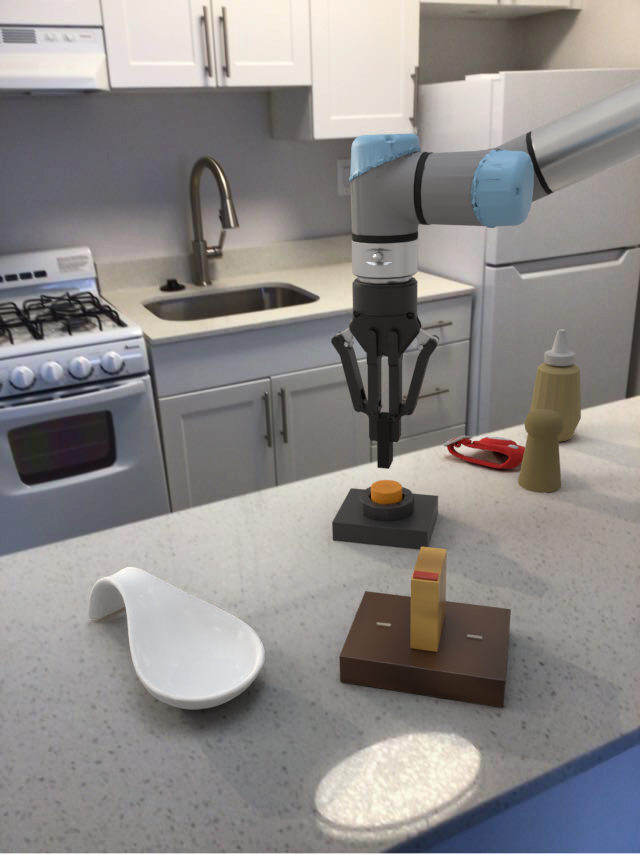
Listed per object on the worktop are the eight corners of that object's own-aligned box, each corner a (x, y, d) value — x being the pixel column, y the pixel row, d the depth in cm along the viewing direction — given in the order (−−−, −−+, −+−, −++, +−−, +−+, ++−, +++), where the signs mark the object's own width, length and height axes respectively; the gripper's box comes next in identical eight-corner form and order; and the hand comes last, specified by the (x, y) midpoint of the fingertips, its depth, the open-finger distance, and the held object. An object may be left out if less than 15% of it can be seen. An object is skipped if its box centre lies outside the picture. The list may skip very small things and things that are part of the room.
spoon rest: (291, 682, 71) (287, 618, 69) (190, 753, 64) (182, 684, 61) (150, 590, 87) (142, 535, 84) (55, 637, 79) (43, 578, 77)
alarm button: (404, 493, 99) (404, 481, 98) (399, 507, 95) (399, 494, 94) (374, 490, 100) (374, 478, 99) (368, 504, 96) (367, 491, 95)
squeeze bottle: (531, 425, 130) (538, 322, 124) (580, 430, 127) (590, 325, 121) (525, 442, 123) (532, 335, 117) (577, 447, 120) (587, 337, 114)
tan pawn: (509, 484, 109) (513, 412, 105) (533, 471, 113) (538, 401, 109) (545, 497, 105) (551, 423, 101) (569, 483, 109) (576, 411, 105)
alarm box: (437, 513, 102) (438, 483, 100) (427, 551, 93) (427, 518, 91) (351, 505, 105) (350, 476, 103) (332, 540, 96) (331, 509, 94)
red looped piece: (506, 436, 123) (543, 443, 114) (502, 463, 123) (540, 472, 114) (440, 430, 119) (473, 437, 110) (437, 458, 119) (469, 467, 110)
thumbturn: (420, 611, 76) (421, 544, 73) (445, 614, 75) (446, 546, 73) (410, 648, 71) (410, 577, 68) (437, 652, 70) (438, 580, 67)
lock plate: (509, 633, 77) (511, 607, 76) (503, 708, 67) (505, 679, 66) (365, 614, 81) (365, 589, 80) (340, 682, 71) (338, 654, 70)
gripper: (321, 282, 85) (327, 471, 94) (437, 284, 82) (432, 481, 91) (338, 270, 92) (342, 448, 101) (445, 272, 89) (440, 456, 97)
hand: (385, 463), depth 96 cm, fingers closed
